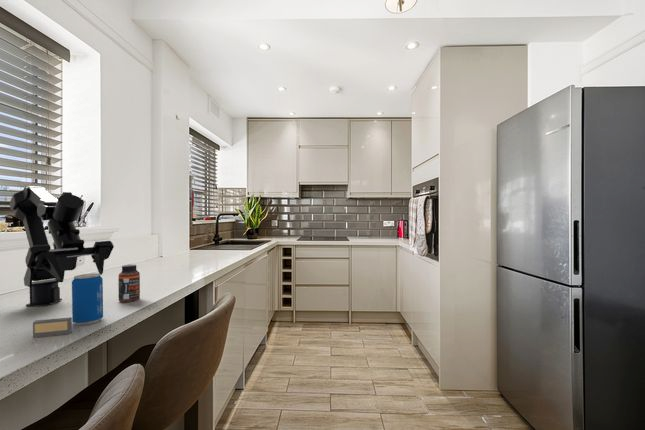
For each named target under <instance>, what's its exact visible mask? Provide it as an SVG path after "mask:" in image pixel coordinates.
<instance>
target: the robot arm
mask: <svg viewBox="0 0 645 430" xmlns="http://www.w3.org/2000/svg"><path fill="white" fill-rule="evenodd" d="M84 204H85V201H84V199H82V198H81V197H79V196H77V195H74V194H73V193H72V192H70V191H68V192H66V191H62V194H61V195H60V196H58V198H56V197H54V195H52V194H51V193H49V192H48V190H47V188H46V187H43V186H33V185H31V186H30V185H29V186H25V187H23V189H22V190H20V191H18V192H16V193H14V194H12V197H11V199H10V201H9V208H10V210H11V211H12V212H13V215H14V217H15V218H16V219H18V220H20V221H21V222H22V223H23V226H24V231H25V235H26V238H27V241H28V245H29V247H28V250H27V254H26V255H25V256H26V257H25V264H26V265H25V266H26V267H27V268H26V271H25V274H24V277H23V284H24V286H26V287H28V288H29V303H26V304H25V307H39V306H44V307H45V306H50V305H53V304H56V303H58V302H61V301H62V300H63V298H61V294H60V293H61V292H60V291H61V287H59V283H63V282H64V280H65V273H66V272H67V271H74V270H75V269H76V268H77V263H78V258H79V257H80V258H81V257H84V256H90V257H91V259H92V263H94V264H95V267H96V268H97V271H98V274H101V275H100V276H102V275H103V273H104V266H105V261H106V260H107V259H109V258H110V256H111V253H112V251H113V249H114V247H115V246H114V244H113V242H112V241H111V240H99V241H95V242H94V244H93V246H91V247H85V246H84V245H85V240H84V239H82V238H81V237H80V233H81V231H80V229H79V228H76V226H75V223H74V222H77V221H78V220H79V217H80V215H81V212H82V210H83V207H84ZM43 221H48V222H47V227H48V234H50V235H51V237H52V239H53V242H52V245H53V246H52V247H53V249H51V248H52V247H51V245H50V244H49V240H48V237H47V234H46V230H45V226H44V223H43Z"/></svg>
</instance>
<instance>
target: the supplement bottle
mask: <svg viewBox="0 0 645 430" xmlns="http://www.w3.org/2000/svg"><path fill="white" fill-rule="evenodd" d="M140 274H141V273H140V272H139V271H138V269H137V265H136V264H123V265H122V266H121V272H119V273H118V281H117V282H118V283H117V285H118V301H119V302H120V303H132V302H136V301H138V300H140V299H141V298H140V297H141V277H140V276H141V275H140Z"/></svg>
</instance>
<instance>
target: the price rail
mask: <svg viewBox="0 0 645 430" xmlns="http://www.w3.org/2000/svg"><path fill="white" fill-rule="evenodd" d="M72 325H73V321H72V317H61V318H50V319H48V318H47V319H36V320H34V321H33V322H32V337H33V338H41V337H43V338H44V337H52V336H61V335H70V334H71V333H72V332H73V326H72Z"/></svg>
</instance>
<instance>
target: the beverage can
mask: <svg viewBox="0 0 645 430" xmlns="http://www.w3.org/2000/svg"><path fill="white" fill-rule="evenodd" d="M103 281H104V280H103V277H102V275H101V274H99V273H85V274H79V275H74V276H73V279H72V281H71V308H72V309H71V315H72V323H73V324H76V325H77V326H85V325H92V324H95V323H98V322H99V321H101V319H103V318H104V290H103V289H104V286H103V285H104V282H103Z"/></svg>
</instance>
